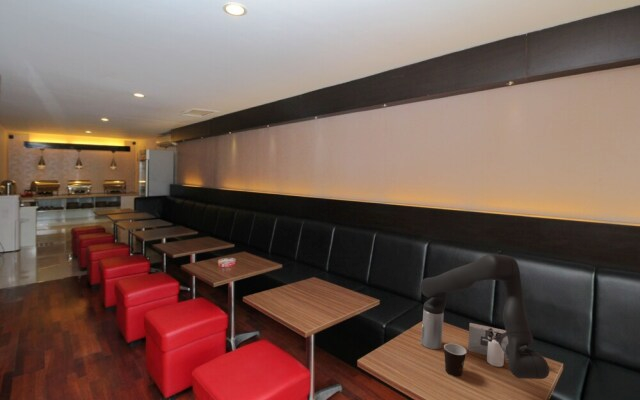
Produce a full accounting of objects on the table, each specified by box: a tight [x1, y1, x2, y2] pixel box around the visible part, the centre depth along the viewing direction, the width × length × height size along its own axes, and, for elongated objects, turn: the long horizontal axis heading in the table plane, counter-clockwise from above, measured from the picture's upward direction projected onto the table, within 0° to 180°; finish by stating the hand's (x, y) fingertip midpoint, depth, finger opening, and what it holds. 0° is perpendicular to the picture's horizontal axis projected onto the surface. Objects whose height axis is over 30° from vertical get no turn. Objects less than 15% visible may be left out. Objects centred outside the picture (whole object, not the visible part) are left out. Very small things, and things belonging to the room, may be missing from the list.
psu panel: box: [467, 322, 508, 362], centre depth 142 cm, size 22×4×12 cm, turn 63°
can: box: [486, 334, 505, 368], centre depth 136 cm, size 6×6×12 cm
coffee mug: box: [443, 343, 467, 378], centre depth 130 cm, size 12×9×10 cm
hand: (502, 331), depth 127 cm, fingers open, 8 cm apart
